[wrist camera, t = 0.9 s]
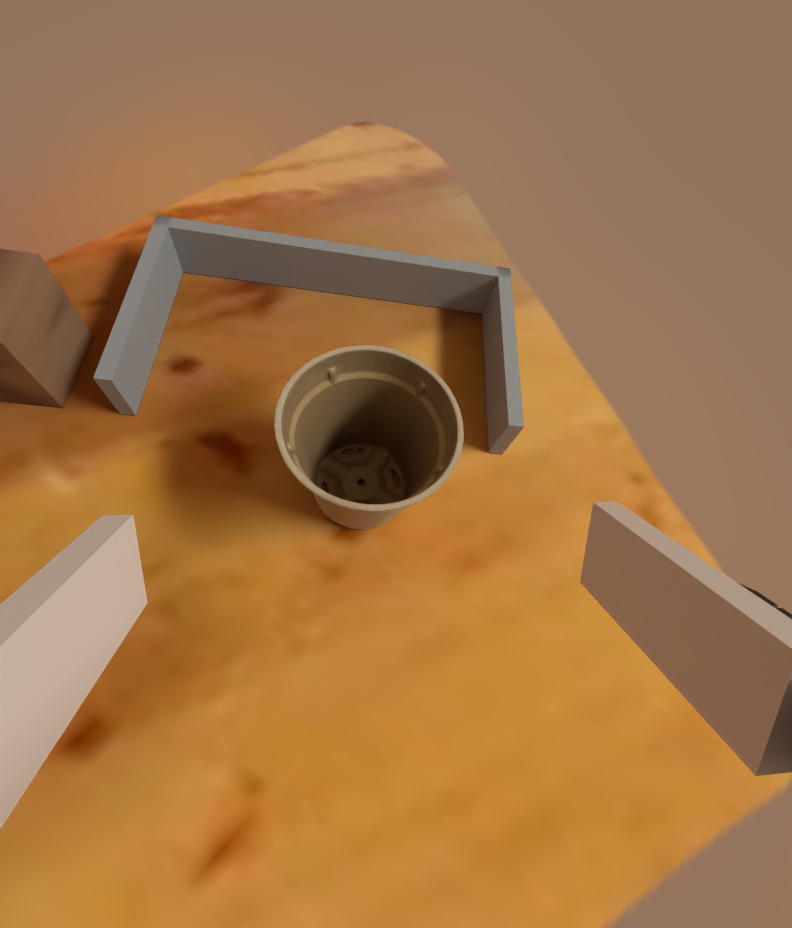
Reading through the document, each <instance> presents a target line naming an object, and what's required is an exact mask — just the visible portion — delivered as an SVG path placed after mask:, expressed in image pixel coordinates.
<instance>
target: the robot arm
mask: <svg viewBox="0 0 792 928" xmlns="http://www.w3.org/2000/svg"><path fill="white" fill-rule="evenodd" d="M580 582H581V584H582V585H583V586H584V587H585V588H586V589H587V590H588V591H589V592H590V593H591V595H592V596H593V597H594V598H595V599H596V600H597V601H598V602H599V603H600V605H601V606H602V607H603V608H604V609H605V610H606V611H607V612H608V613H609V614H610V616H611V617H612V618H613V619H614V620H615V621H616V622H617V623H618V624H619V625H620V627H621V628H622V629H623V630H624V631H625V632H626V633H627V634H628V635H629V636H630V638H631V639H632V640H633V641H634V642H635V643H636V644H637V645H638V646H639V648H640V649H641V650H642V651H643V652H644V653H645V654H646V655H647V656H648V657H649V659H650V660H651V661H652V662H653V663H654V664H655V665H656V666H657V667H658V668H659V670H660V671H661V672H662V673H663V674H664V675H665V676H666V677H667V678H668V680H669V681H670V682H671V683H672V684H673V685H674V686H675V687H676V688H677V689H678V691H679V692H680V693H681V694H682V695H683V696H684V697H685V698H686V699H687V700H688V702H689V703H690V704H691V705H692V706H693V707H694V708H695V709H696V710H697V711H698V713H699V714H700V715H701V716H702V717H703V718H704V719H705V720H706V721H707V723H708V724H709V725H710V726H711V727H712V728H713V729H714V730H715V731H716V732H717V734H718V735H719V736H720V737H721V738H722V739H723V740H724V741H725V742H726V743H727V745H728V746H729V747H730V748H731V749H732V750H733V751H734V752H735V753H736V755H737V756H738V757H739V758H740V759H741V760H742V761H743V762H744V763H745V764H746V766H747V767H748V768H749V769H750V770H751V771H752V772H753V773H754V774H755V775H756V776H759V775H769V774H778V773H787V772H792V614H790V613H788V612H787V611H785V610H784V609H782V608H778V606H777V605H776V604H775V603H773V602H772V601H770V600H769V599H767V598H766V597H764V596H763V595H761V594H760V593H758V592H757V591H754V590H752V589H750V588H748V587H746V586H744V585H741V584H739V583H737V582H735V581H734V580H732V579H731V578H729V577H728V576H726V575H725V574H723V573H722V572H721V571H719V570H718V569H716V568H715V567H713V566H712V565H710V564H709V563H707V562H706V561H704V560H703V559H701V558H700V557H698V556H697V555H695V554H694V553H692V552H691V551H689V550H688V549H686V548H685V547H683V546H682V545H680V544H679V543H677V542H676V541H674V540H673V539H671V538H670V537H668V536H667V535H666V534H664V533H663V532H661V531H660V530H658V529H657V528H655V527H654V526H652V525H651V524H649V523H648V522H646V521H645V520H643V519H642V518H640V517H639V516H637V515H636V514H634V513H633V512H631V511H630V510H628V509H627V508H625V507H624V506H622V505H621V504H619V503H618V502H593V507H592V513H591V520H590V526H589V532H588V538H587V544H586V550H585V556H584V562H583V568H582V574H581V580H580ZM146 604H147V597H146V591H145V584H144V578H143V572H142V566H141V560H140V553H139V547H138V541H137V535H136V529H135V522H134V516H133V515H102V516H101V517H100V518H99V519H98V520H97V521H96V522H94V523H93V524H92V525H91V526H90V527H89V528H87V529H86V530H85V531H84V532H83V533H82V534H81V535H79V536H78V537H77V538H76V539H75V540H74V541H72V542H71V543H70V544H69V545H68V546H67V547H66V548H64V549H63V550H62V551H61V552H60V553H59V554H57V555H56V556H55V557H54V558H53V559H52V560H51V561H49V562H48V563H47V564H46V565H45V566H44V567H43V568H41V569H40V570H39V571H38V572H37V573H36V574H34V575H33V576H32V577H31V578H30V579H29V580H28V581H26V582H25V583H24V584H23V585H22V586H21V587H19V588H18V589H17V590H16V591H15V592H14V593H13V594H11V595H10V596H9V597H8V598H7V599H6V600H4V601H3V602H2V603H1V604H0V829H1V827H2V826H3V824H4V823H5V821H6V820H7V818H8V817H9V815H10V814H11V812H12V811H13V809H14V808H15V806H16V804H17V803H18V801H19V800H20V798H21V797H22V795H23V794H24V792H25V791H26V789H27V788H28V786H29V784H30V783H31V781H32V780H33V778H34V777H35V775H36V774H37V772H38V771H39V769H40V768H41V766H42V764H43V763H44V761H45V760H46V758H47V757H48V755H49V754H50V752H51V751H52V749H53V748H54V746H55V744H56V743H57V741H58V740H59V738H60V737H61V735H62V734H63V732H64V731H65V729H66V728H67V726H68V724H69V723H70V721H71V720H72V718H73V717H74V715H75V714H76V712H77V711H78V709H79V708H80V706H81V704H82V703H83V701H84V700H85V698H86V697H87V695H88V694H89V692H90V691H91V689H92V688H93V686H94V684H95V683H96V681H97V680H98V678H99V677H100V675H101V674H102V672H103V671H104V669H105V668H106V666H107V664H108V663H109V661H110V660H111V658H112V657H113V655H114V654H115V652H116V651H117V649H118V648H119V646H120V644H121V643H122V641H123V640H124V638H125V637H126V635H127V634H128V632H129V631H130V629H131V628H132V626H133V624H134V623H135V621H136V620H137V618H138V617H139V615H140V614H141V612H142V611H143V609H144V608H145V606H146Z"/></svg>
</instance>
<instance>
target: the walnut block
mask: <svg viewBox="0 0 792 928" xmlns="http://www.w3.org/2000/svg"><path fill="white" fill-rule="evenodd" d="M92 337H93V335H92V333H91V332H90V330H89V329H88V327H87V326H86V324H85V323H84V321H83V320H82V318H81V317H80V315H79V314H78V312H77V311H76V309H75V308H74V306H73V305H72V303H71V302H70V300H69V299H68V297H67V296H66V294H65V293H64V291H63V290H62V288H61V287H60V285H59V284H58V282H57V281H56V279H55V278H54V276H53V275H52V273H51V272H50V270H49V269H48V267H47V265H46V264H45V262H44V261H43V259H42V258H41V257H40V255H39V254H33V253H26V252H18V251H12V250H4V249H0V402H9V403H18V404H28V405H37V406H47V407H56V408H64V405H65V403H66V400H67V398H68V395H69V393H70V390H71V388H72V386H73V383H74V381H75V378H76V376H77V373H78V371H79V368H80V366H81V364H82V361H83V359H84V356H85V354H86V351H87V349H88V347H89V344H90V342H91V339H92Z"/></svg>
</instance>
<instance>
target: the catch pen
mask: <svg viewBox="0 0 792 928" xmlns="http://www.w3.org/2000/svg"><path fill="white" fill-rule="evenodd" d="M183 272H186V273H193V274H200V275H207V276H215V277H222V278H229V279H236V280H243V281H251V282H258V283H265V284H272V285H279V286H286V287H294V288H301V289H308V290H315V291H322V292H329V293H337V294H344V295H351V296H358V297H365V298H372V299H380V300H387V301H394V302H401V303H408V304H416V305H423V306H430V307H437V308H444V309H451V310H459V311H466V312H473V313H480V314H482V321H483V342H484V364H485V385H486V406H487V427H488V448H489V453H495V454H503V453H504V451H505V450H506V449H507V448H508V446H509V445H510V444H511V442H512V441H513V440H514V439H515V437H516V436H517V435H518V434H519V432H520V431H521V430H522V429H523V427H524V423H523V411H522V400H521V388H520V376H519V365H518V353H517V341H516V330H515V318H514V306H513V295H512V283H511V271H510V269H509V268H502V267H495V266H489V265H482V264H476V263H469V262H462V261H456V260H449V259H443V258H436V257H429V256H423V255H416V254H410V253H403V252H396V251H390V250H383V249H377V248H370V247H363V246H357V245H350V244H343V243H337V242H330V241H324V240H317V239H310V238H304V237H297V236H291V235H284V234H277V233H271V232H264V231H258V230H251V229H244V228H238V227H231V226H225V225H218V224H211V223H205V222H198V221H192V220H185V219H178V218H172V217H165V216H159V215H157V216H156V218H155V221H154V223H153V226H152V228H151V231H150V234H149V236H148V239H147V241H146V244H145V246H144V249H143V251H142V254H141V257H140V259H139V262H138V264H137V267H136V269H135V272H134V274H133V277H132V280H131V282H130V285H129V287H128V290H127V292H126V295H125V298H124V300H123V303H122V305H121V308H120V310H119V313H118V315H117V318H116V321H115V323H114V326H113V328H112V331H111V333H110V336H109V338H108V341H107V344H106V346H105V349H104V351H103V354H102V356H101V359H100V361H99V364H98V367H97V369H96V372H95V374H94V377H93V379H94V380H95V382H96V383H97V384H98V386H99V387H100V388H101V389H102V391H103V392H104V393H105V395H106V396H107V397H108V399H109V400H110V401H111V403H112V404H113V405H114V407H115V408H116V409H117V411H118V412H119V413H120V414H126V415H135V416H136V414H137V411H138V407H139V404H140V401H141V398H142V395H143V392H144V389H145V386H146V383H147V380H148V377H149V374H150V371H151V368H152V365H153V362H154V359H155V356H156V353H157V350H158V347H159V344H160V341H161V338H162V335H163V332H164V328H165V325H166V322H167V319H168V316H169V313H170V310H171V307H172V304H173V301H174V298H175V295H176V292H177V289H178V286H179V283H180V280H181V277H182V274H183Z"/></svg>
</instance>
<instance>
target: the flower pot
mask: <svg viewBox="0 0 792 928" xmlns="http://www.w3.org/2000/svg"><path fill="white" fill-rule="evenodd" d="M274 430H275V437H276V442H277V445H278V449H279V451H280V454H281V457H282V458H283V460H284V462H285V464H286V466H287V467H288V469H289V470H290V472H291V473H292V474H293V475H294V477H295V478H296V479H297V480H298V481H299V482H300V483H301V484H302V485H303V486H304V487H305V488H307V489H308V490H309V491H310V492H312V493H313V495H314V497H315V500H316V502H317V504H318V506H319V508H320V509H321V510H322V512H323V513H324V514H325V515H326V516H328V517H329V518H330V519H331V520H333V521H334V522H336V523H338V524H340V525H342V526H344V527H347V528H351V529H371V528H375V527H378V526H380V525H383V524H385V523H386V522H388V521H390V520H391V519H392V518H393V517H394V516H396V514H397V513H398V512H399V511H400V510H401V509H403V508H406V507H409V506H411V505H414V504H416V503H418V502H420V501H422V500H424V499H425V498H427V497H428V496H430V495H431V494H433V493H434V492H435V491H436V490H437V489H439V488H440V487H441V486H442V485H443V484H444V482H445V481H446V480H447V479H448V478H449V476H450V475H451V473H452V472H453V470H454V468H455V467H456V465H457V463H458V460H459V458H460V455H461V451H462V446H463V441H464V430H463V420H462V416H461V412H460V409H459V406H458V404H457V401H456V399H455V397H454V395H453V394H452V392H451V390H450V388H449V387H448V386H447V384H446V383H445V382H444V381H443V380H442V378H441V377H440V376H439V375H438V374H437V373H436V372H434V371H433V370H432V369H431V368H430V367H428V366H427V365H426V364H425V363H423V362H422V361H420V360H418V359H416V358H415V357H413V356H411V355H409V354H406V353H404V352H401V351H398V350H396V349H392V348H388V347H382V346H376V345H354V346H348V347H343V348H339V349H335V350H331V351H329V352H326V353H324V354H321V355H319V356H317V357H315V358H313V359H312V360H310V361H309V362H307V363H306V364H305V365H303V366H302V367H301V368H300V369H299V370H298V371H296V372H295V373H294V375H293V376H292V377H291V378H290V379H289V381H288V382H287V383H286V385H285V386H284V388H283V389H282V392H281V394H280V396H279V398H278V401H277V405H276V410H275V416H274ZM351 448H359V449H361V450H362V451H361V452H356V453H349V454H346V455H344V454H343V451H346V450H347V449H351ZM392 470H394V471H395V473H396V474H397V476H398V479H399V482H400V486H398V487H396V486H395V485H394V483H393V477H392V474H391V471H392ZM360 479H362V480H363V481H364V483H363V484H362V485H359V484H358V480H360ZM324 482H325V483H326V487H327V489H329V491H328V493H327V492H325V491H323V490H322V484H323V483H324Z"/></svg>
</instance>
